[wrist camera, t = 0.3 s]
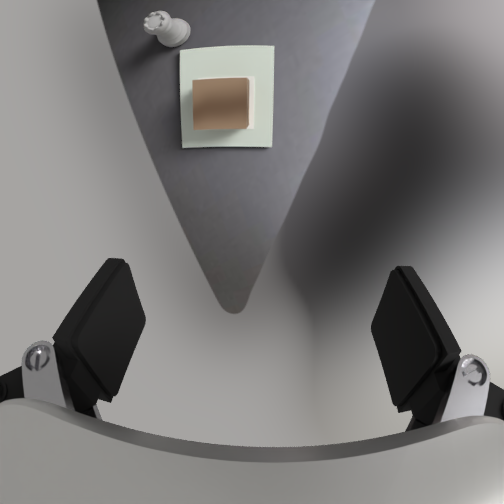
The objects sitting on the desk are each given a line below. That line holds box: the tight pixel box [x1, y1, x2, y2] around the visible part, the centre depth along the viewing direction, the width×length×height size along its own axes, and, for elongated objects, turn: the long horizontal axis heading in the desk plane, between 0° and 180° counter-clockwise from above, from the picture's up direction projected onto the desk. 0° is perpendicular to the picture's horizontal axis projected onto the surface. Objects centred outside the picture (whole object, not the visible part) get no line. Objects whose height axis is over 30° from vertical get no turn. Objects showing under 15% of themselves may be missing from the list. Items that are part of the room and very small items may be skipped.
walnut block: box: [192, 78, 249, 130], centre depth 28 cm, size 6×6×5 cm
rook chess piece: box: [143, 11, 190, 47], centre depth 22 cm, size 4×4×8 cm
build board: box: [180, 46, 274, 148], centre depth 30 cm, size 14×12×1 cm
